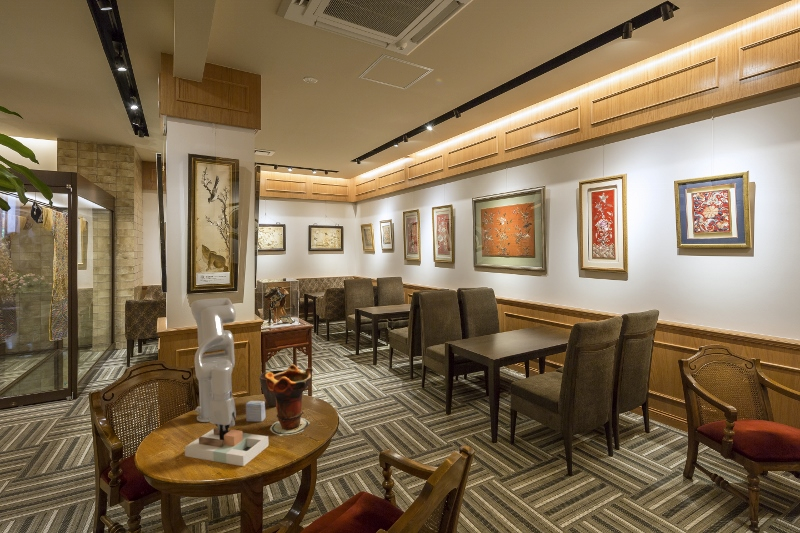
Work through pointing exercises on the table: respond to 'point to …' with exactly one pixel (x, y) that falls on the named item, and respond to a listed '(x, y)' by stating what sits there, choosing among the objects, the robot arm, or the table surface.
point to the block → (233, 437)
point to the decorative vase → (289, 399)
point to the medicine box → (255, 411)
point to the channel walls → (212, 440)
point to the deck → (228, 449)
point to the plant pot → (267, 393)
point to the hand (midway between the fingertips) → (224, 438)
